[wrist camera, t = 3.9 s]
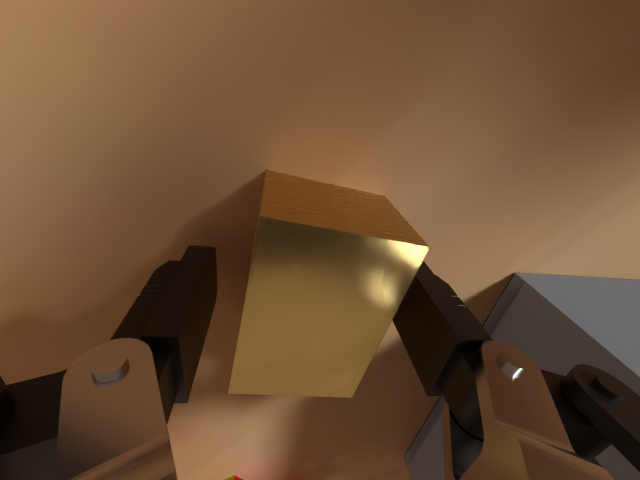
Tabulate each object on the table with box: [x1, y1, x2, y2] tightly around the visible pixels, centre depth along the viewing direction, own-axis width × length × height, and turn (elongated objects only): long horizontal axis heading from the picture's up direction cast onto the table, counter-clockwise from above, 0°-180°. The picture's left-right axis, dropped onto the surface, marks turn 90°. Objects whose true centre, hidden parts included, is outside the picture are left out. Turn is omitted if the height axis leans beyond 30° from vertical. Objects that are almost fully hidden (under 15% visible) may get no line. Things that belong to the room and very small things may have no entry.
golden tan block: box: [228, 170, 430, 398], centre depth 9 cm, size 6×4×4 cm, turn 165°
